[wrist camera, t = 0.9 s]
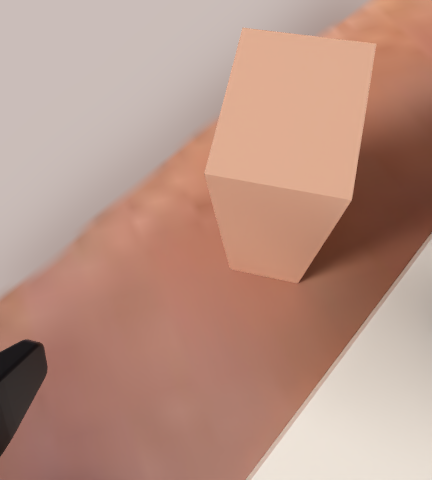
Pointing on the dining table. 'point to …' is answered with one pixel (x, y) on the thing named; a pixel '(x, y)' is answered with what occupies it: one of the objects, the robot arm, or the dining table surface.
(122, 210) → the dining table surface
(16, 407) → the robot arm
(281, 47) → the tall peach block
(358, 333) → the dock
